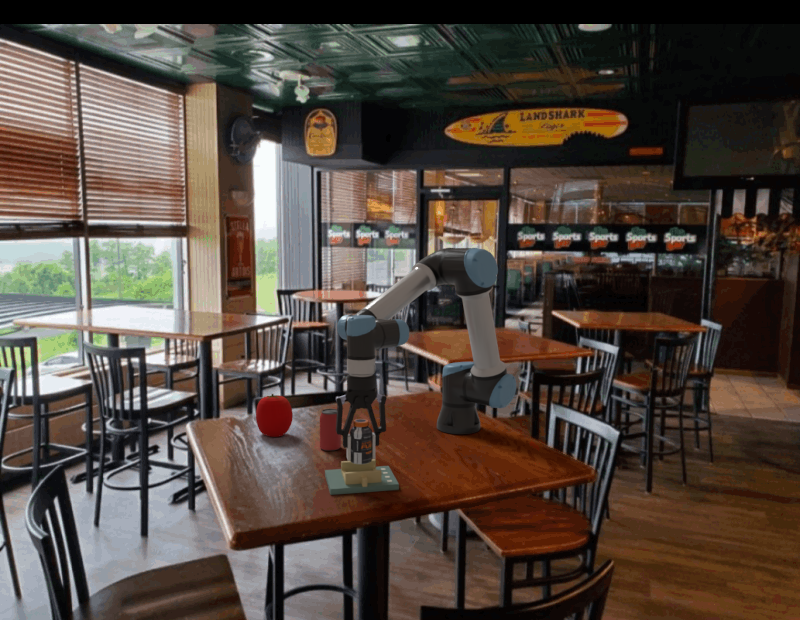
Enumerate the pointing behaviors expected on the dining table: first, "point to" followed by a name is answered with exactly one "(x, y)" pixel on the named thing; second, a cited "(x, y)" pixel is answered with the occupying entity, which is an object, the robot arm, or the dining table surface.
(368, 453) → the pill bottle
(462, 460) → the dining table surface
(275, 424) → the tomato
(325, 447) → the beer can
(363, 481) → the board
